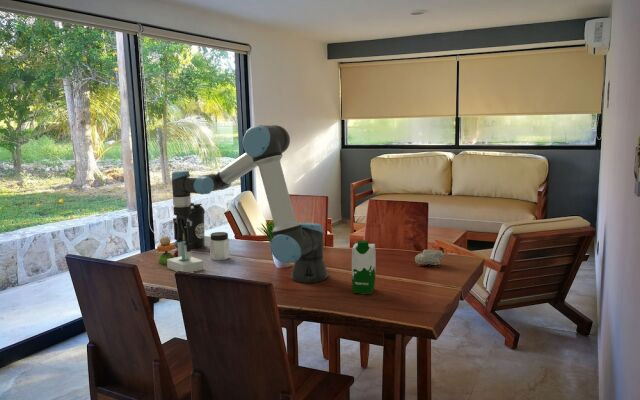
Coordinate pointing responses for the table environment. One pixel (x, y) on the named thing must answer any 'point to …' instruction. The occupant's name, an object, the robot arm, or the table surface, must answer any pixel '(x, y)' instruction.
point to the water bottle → (197, 225)
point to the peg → (183, 252)
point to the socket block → (185, 264)
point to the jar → (219, 246)
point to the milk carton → (363, 267)
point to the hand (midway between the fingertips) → (184, 257)
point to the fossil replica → (429, 257)
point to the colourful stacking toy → (167, 249)
